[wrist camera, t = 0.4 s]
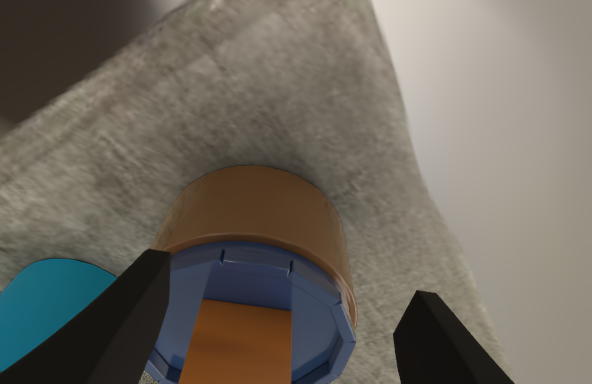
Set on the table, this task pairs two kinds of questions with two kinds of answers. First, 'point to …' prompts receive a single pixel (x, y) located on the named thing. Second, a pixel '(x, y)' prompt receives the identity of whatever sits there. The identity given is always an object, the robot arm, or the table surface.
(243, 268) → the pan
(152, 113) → the table surface
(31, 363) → the robot arm
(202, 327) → the block
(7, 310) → the mug
